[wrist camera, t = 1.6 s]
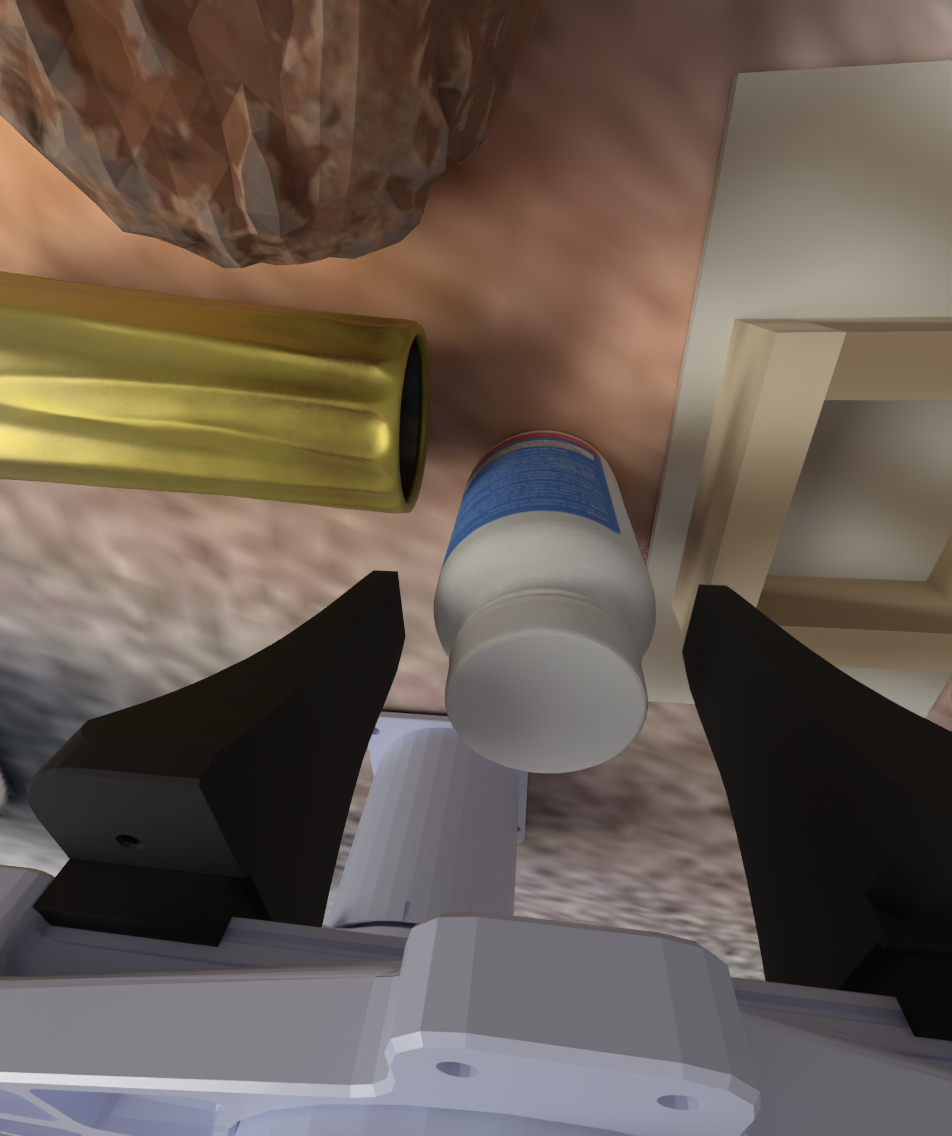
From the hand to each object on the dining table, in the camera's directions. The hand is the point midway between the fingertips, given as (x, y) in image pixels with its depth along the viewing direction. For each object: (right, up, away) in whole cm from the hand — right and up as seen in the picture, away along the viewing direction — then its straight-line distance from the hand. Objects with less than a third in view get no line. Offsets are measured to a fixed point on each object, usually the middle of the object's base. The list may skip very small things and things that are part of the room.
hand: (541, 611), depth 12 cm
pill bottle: (+1, +4, +6) cm, 7 cm away
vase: (-18, +7, +2) cm, 19 cm away
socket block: (+11, +4, +4) cm, 12 cm away
